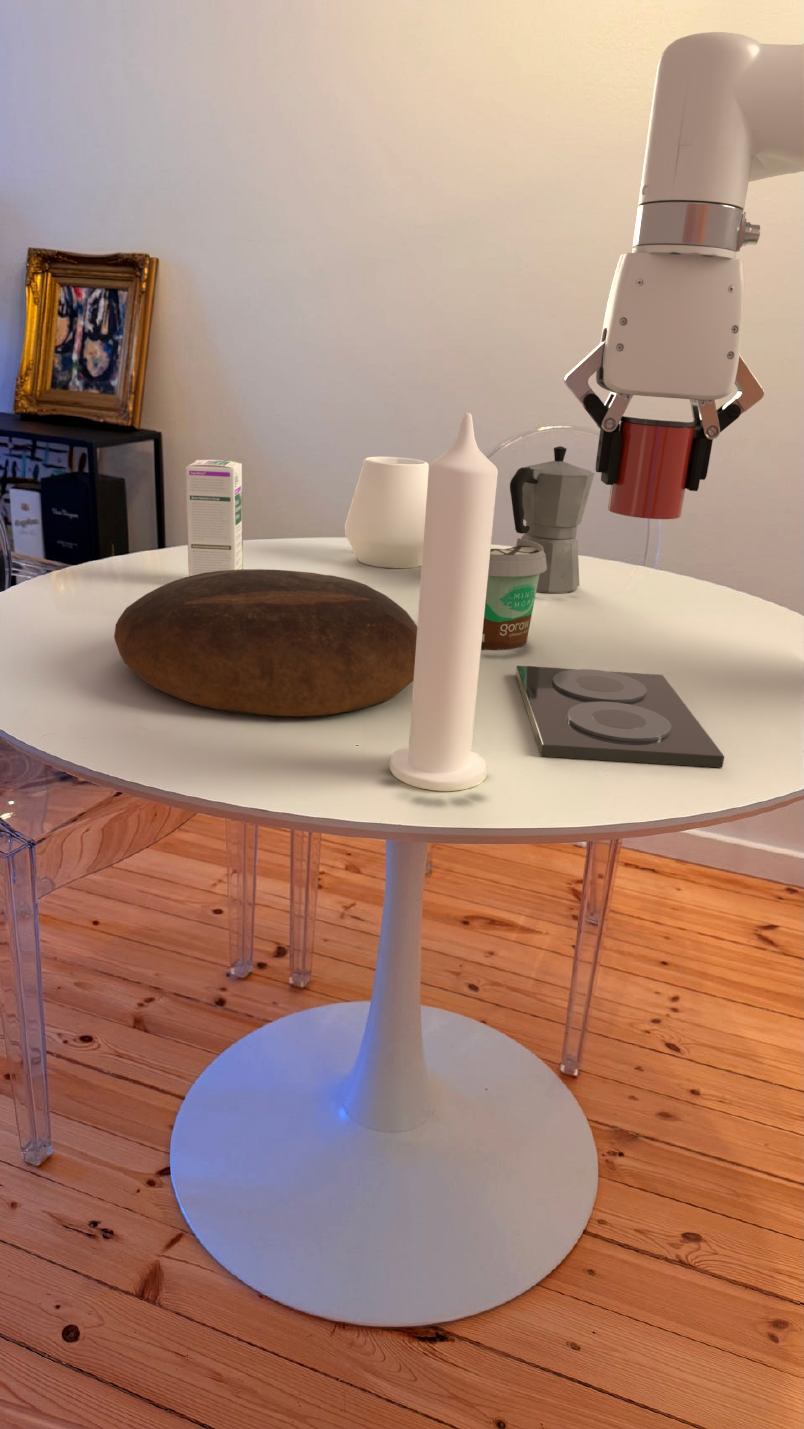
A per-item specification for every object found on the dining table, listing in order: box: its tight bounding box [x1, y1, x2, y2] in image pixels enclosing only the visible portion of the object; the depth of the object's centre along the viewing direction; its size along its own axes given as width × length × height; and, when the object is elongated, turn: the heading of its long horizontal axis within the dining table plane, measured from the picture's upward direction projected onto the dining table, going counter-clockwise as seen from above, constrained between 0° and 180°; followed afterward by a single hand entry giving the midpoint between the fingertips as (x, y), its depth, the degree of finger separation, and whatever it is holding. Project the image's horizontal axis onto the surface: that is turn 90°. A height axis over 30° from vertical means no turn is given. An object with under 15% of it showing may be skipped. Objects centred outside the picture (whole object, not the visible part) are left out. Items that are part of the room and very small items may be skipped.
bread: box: [113, 568, 417, 717], centre depth 90 cm, size 28×27×9 cm
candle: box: [389, 412, 499, 792], centre depth 67 cm, size 7×7×25 cm
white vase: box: [344, 456, 430, 569], centre depth 138 cm, size 13×13×14 cm
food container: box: [481, 537, 547, 651], centre depth 103 cm, size 12×6×10 cm, turn 143°
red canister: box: [607, 414, 698, 520], centre depth 79 cm, size 6×6×7 cm
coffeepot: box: [509, 445, 595, 594], centre depth 128 cm, size 15×9×18 cm, turn 134°
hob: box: [515, 665, 725, 769], centre depth 85 cm, size 14×20×1 cm
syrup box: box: [185, 459, 244, 576], centre depth 119 cm, size 6×6×14 cm
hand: (648, 483), depth 79 cm, fingers closed on red canister, 5 cm apart
